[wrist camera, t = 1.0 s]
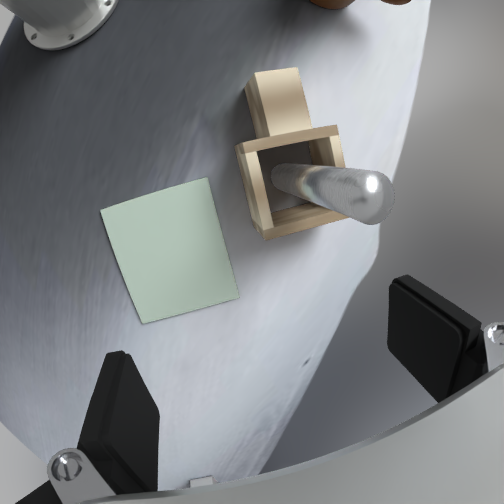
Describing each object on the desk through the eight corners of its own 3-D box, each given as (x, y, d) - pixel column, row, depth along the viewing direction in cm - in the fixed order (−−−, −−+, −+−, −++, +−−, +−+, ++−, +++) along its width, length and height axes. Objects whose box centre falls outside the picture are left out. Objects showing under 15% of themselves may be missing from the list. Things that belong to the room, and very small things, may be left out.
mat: (101, 209, 30) (100, 210, 30) (207, 176, 32) (207, 177, 31) (143, 322, 35) (142, 323, 34) (239, 296, 36) (239, 297, 36)
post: (268, 166, 32) (345, 176, 15) (294, 160, 33) (390, 166, 16) (274, 193, 33) (353, 230, 16) (299, 187, 34) (397, 217, 17)
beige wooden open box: (220, 92, 29) (226, 78, 23) (301, 79, 30) (321, 64, 24) (253, 226, 34) (265, 240, 28) (328, 206, 35) (353, 216, 29)
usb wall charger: (218, 483, 47) (221, 498, 43) (186, 488, 47) (187, 504, 43) (211, 474, 46) (213, 490, 42) (177, 480, 45) (178, 496, 42)
